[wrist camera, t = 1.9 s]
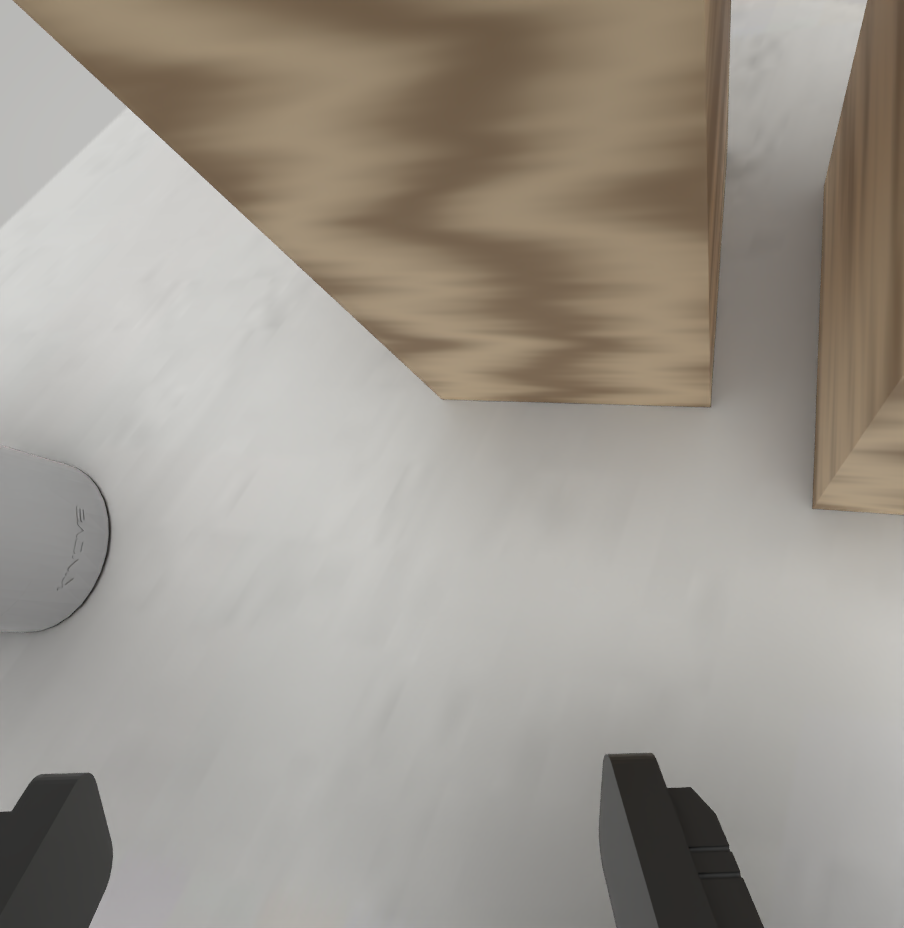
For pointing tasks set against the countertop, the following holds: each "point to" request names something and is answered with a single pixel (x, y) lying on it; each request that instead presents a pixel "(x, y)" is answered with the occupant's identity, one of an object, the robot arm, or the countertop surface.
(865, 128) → the oak ledge
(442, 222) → the oak shelf block
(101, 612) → the countertop surface
